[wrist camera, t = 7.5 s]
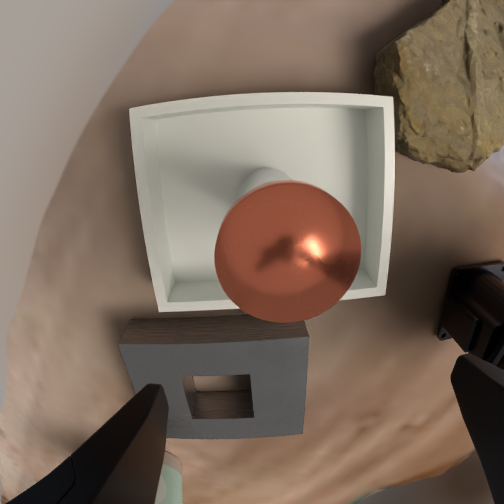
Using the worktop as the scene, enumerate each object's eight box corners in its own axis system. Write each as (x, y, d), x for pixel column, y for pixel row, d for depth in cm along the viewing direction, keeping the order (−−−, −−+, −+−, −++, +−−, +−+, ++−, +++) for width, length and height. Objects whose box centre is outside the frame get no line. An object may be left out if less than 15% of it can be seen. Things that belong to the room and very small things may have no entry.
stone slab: (468, 221, 19) (507, 234, 14) (333, 122, 19) (348, 106, 14) (541, 5, 12) (567, -10, 7) (446, -72, 12) (463, -98, 7)
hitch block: (300, 311, 21) (308, 336, 19) (297, 407, 25) (302, 433, 22) (130, 319, 21) (117, 343, 19) (160, 411, 25) (154, 437, 22)
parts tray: (370, 101, 17) (392, 97, 14) (367, 273, 21) (385, 295, 18) (146, 111, 17) (129, 108, 14) (169, 287, 21) (158, 311, 18)
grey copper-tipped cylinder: (304, 157, 17) (363, 182, 9) (306, 231, 19) (355, 316, 10) (225, 161, 17) (207, 189, 9) (231, 236, 19) (222, 327, 10)
